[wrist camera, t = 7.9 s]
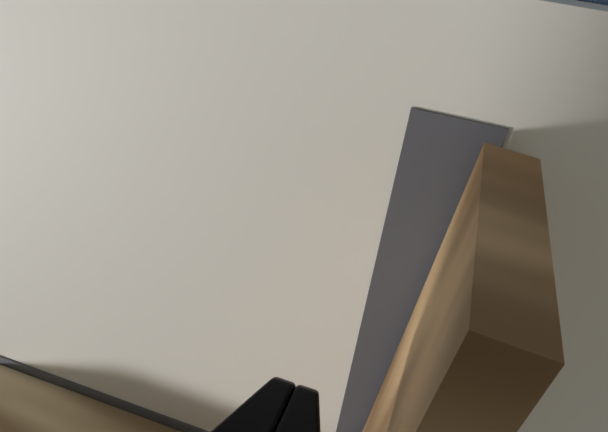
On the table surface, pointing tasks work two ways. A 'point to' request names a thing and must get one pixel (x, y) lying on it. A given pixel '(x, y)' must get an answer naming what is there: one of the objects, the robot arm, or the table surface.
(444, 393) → the hinged fence panel
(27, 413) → the fixed fence panel
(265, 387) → the robot arm
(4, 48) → the card
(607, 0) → the table surface
